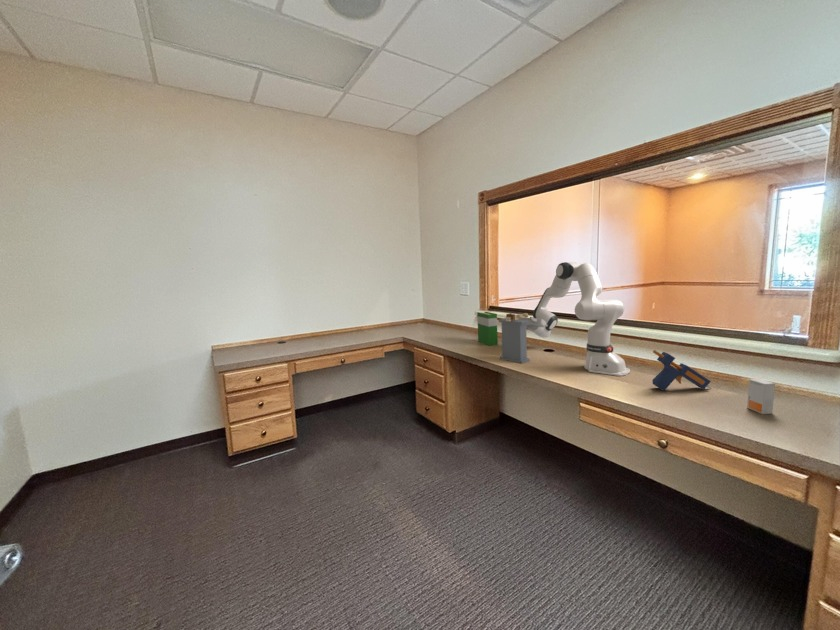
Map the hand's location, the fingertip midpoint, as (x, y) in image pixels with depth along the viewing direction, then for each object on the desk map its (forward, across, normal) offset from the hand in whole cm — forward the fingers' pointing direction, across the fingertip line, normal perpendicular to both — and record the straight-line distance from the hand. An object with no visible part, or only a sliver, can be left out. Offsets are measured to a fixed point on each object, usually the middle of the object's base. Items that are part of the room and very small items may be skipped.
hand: (524, 317), depth 225 cm
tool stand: (-2, 0, -28) cm, 29 cm away
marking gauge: (+7, 0, -4) cm, 8 cm away
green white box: (-26, +44, -15) cm, 53 cm away
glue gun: (-8, -86, -27) cm, 91 cm away
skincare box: (-1, -113, -31) cm, 117 cm away
